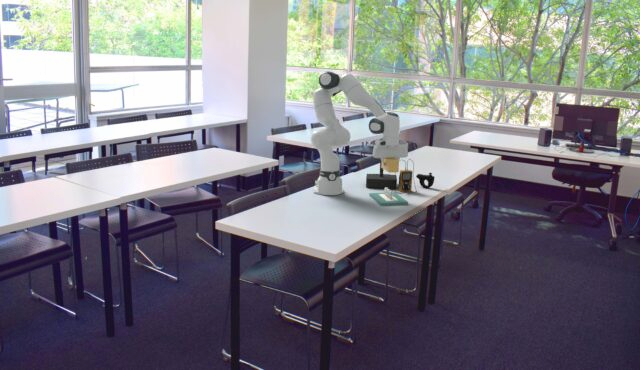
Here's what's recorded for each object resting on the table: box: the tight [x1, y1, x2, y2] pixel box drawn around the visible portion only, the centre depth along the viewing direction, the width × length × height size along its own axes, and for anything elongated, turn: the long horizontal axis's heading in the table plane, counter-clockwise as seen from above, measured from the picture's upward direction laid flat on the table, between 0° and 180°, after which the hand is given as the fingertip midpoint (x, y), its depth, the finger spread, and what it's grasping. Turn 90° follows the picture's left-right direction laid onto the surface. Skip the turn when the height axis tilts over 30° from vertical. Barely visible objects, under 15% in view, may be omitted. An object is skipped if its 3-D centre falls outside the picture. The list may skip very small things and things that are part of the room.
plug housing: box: [381, 158, 400, 174], centre depth 327 cm, size 14×6×7 cm, turn 12°
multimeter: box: [394, 158, 417, 195], centre depth 347 cm, size 15×10×20 cm
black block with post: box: [365, 158, 398, 190], centre depth 364 cm, size 19×17×20 cm
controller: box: [416, 172, 435, 189], centre depth 362 cm, size 4×12×10 cm, turn 48°
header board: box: [368, 188, 409, 207], centre depth 332 cm, size 22×16×6 cm
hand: (389, 165), depth 327 cm, fingers closed on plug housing, 6 cm apart
